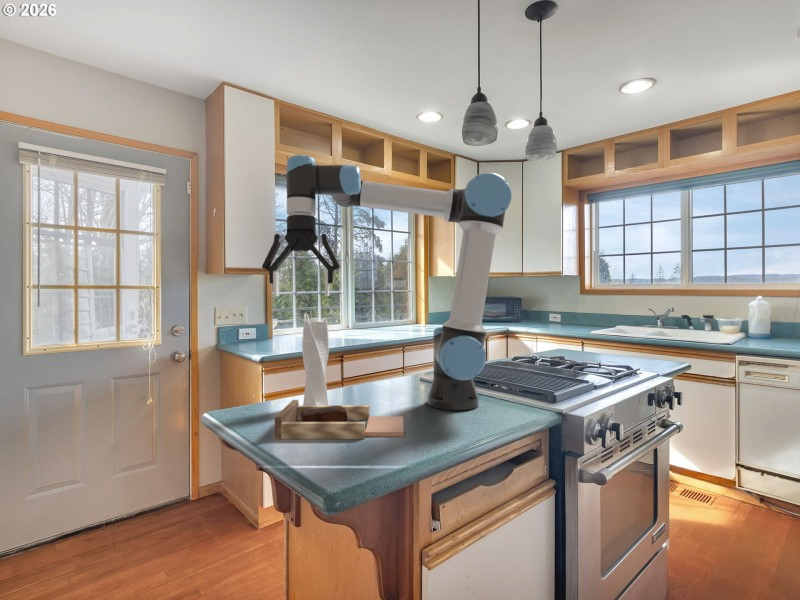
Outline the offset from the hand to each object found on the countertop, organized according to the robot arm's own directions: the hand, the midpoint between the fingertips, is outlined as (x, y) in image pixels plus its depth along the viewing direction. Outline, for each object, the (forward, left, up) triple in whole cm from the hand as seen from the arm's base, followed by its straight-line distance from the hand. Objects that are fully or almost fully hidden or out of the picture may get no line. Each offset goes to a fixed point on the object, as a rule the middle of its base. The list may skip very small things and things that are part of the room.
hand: (301, 296), depth 114 cm
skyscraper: (-2, -10, -33) cm, 34 cm away
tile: (-23, +8, -33) cm, 40 cm away
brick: (-9, +7, -33) cm, 35 cm away
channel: (-9, +8, -33) cm, 35 cm away
